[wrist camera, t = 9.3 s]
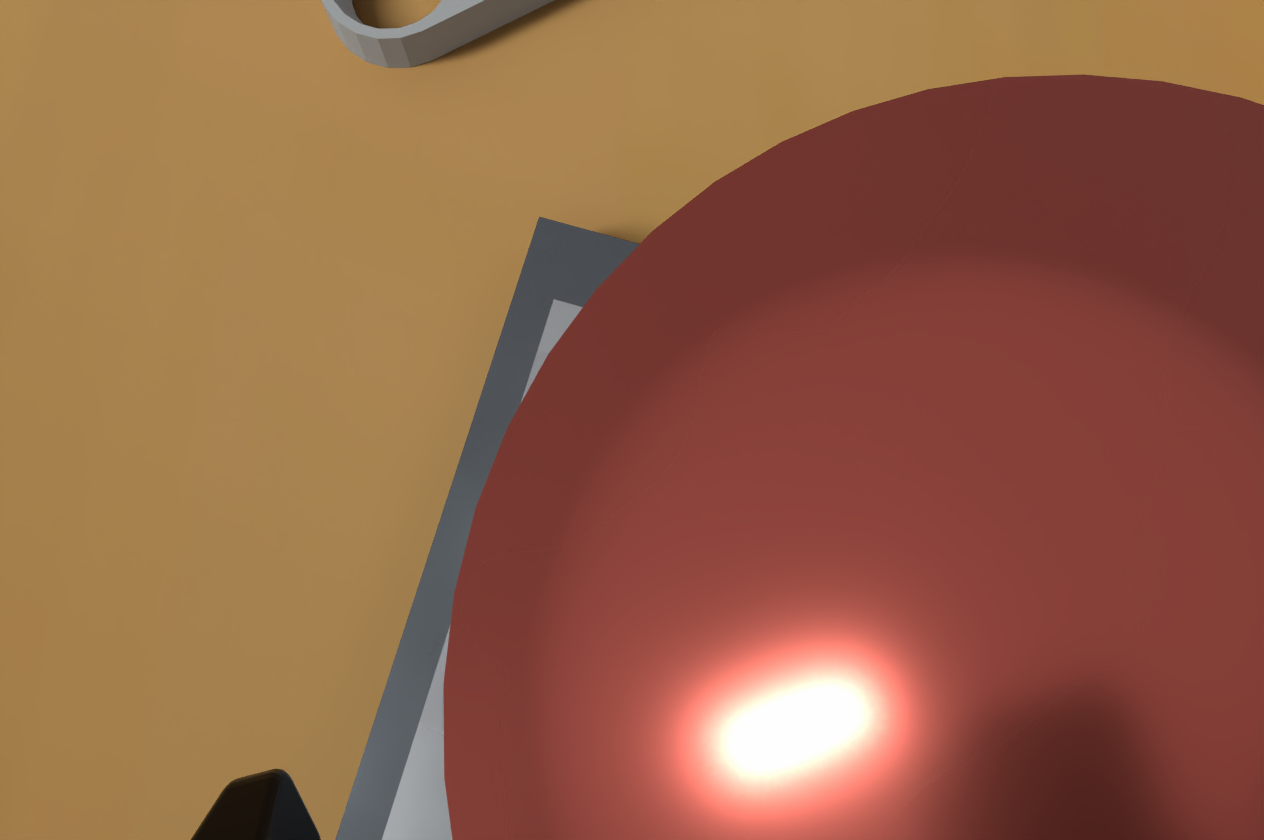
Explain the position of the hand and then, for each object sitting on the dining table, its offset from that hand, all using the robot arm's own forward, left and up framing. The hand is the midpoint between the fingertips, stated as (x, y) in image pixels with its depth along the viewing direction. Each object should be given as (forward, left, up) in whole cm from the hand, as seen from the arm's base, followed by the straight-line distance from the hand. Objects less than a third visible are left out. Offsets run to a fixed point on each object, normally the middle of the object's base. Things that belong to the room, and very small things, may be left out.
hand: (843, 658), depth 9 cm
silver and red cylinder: (0, 0, -8) cm, 8 cm away
